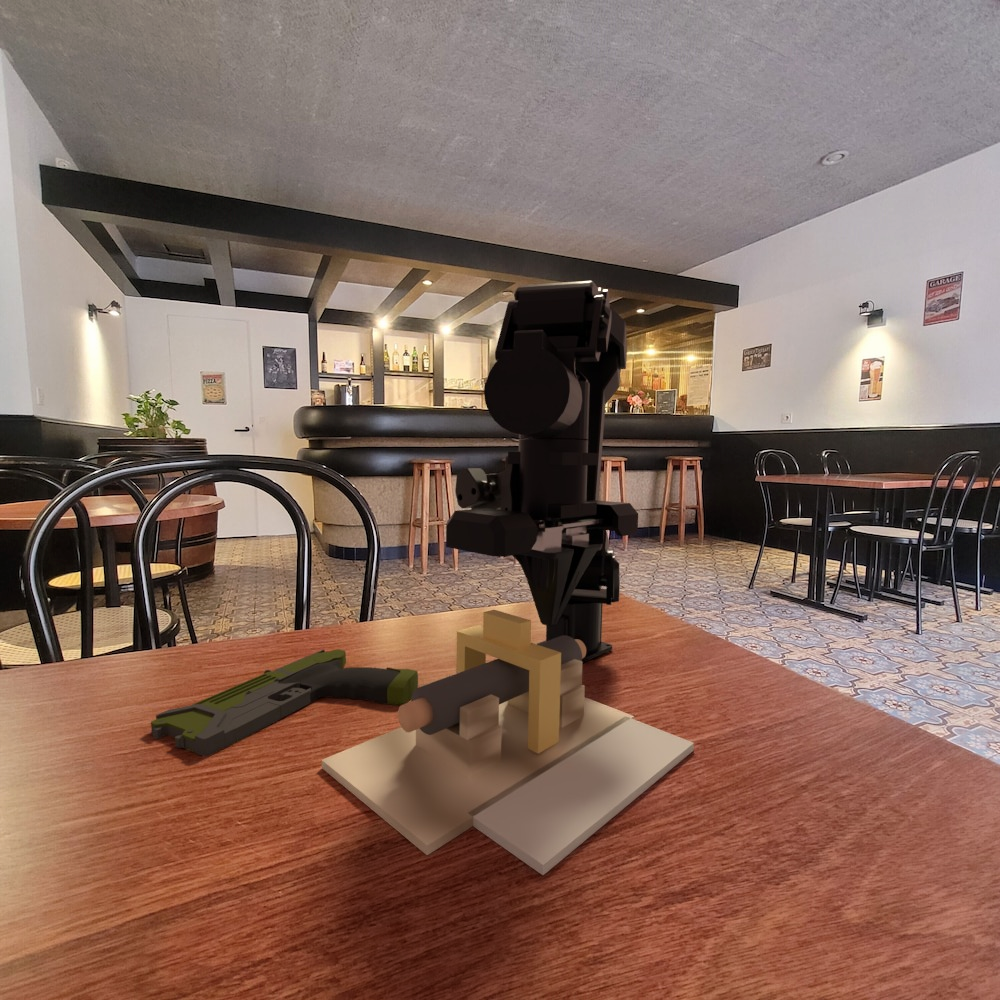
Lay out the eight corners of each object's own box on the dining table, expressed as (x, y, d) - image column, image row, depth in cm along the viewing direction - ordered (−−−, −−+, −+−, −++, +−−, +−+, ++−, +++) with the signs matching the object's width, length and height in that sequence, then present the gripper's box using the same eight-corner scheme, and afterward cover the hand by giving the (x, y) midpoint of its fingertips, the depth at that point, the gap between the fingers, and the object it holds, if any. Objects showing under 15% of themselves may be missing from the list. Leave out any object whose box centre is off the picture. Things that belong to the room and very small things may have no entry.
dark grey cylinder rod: (563, 661, 52) (564, 627, 51) (592, 671, 49) (593, 636, 49) (391, 732, 38) (391, 687, 38) (420, 750, 36) (420, 703, 35)
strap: (476, 702, 48) (478, 602, 47) (558, 741, 42) (561, 626, 41) (455, 711, 46) (457, 607, 45) (538, 753, 40) (541, 633, 39)
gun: (271, 799, 37) (141, 745, 44) (435, 689, 53) (322, 663, 61) (269, 763, 37) (139, 714, 44) (434, 664, 53) (321, 640, 60)
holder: (527, 680, 55) (528, 629, 54) (633, 723, 47) (636, 663, 46) (321, 767, 39) (321, 697, 39) (427, 855, 31) (427, 766, 30)
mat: (625, 722, 47) (625, 716, 47) (693, 750, 42) (693, 742, 42) (467, 822, 34) (467, 812, 34) (542, 875, 30) (543, 864, 30)
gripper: (548, 443, 58) (545, 589, 59) (402, 437, 45) (402, 626, 46) (644, 443, 50) (637, 611, 52) (501, 435, 37) (497, 662, 38)
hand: (548, 624), depth 47 cm, fingers closed
